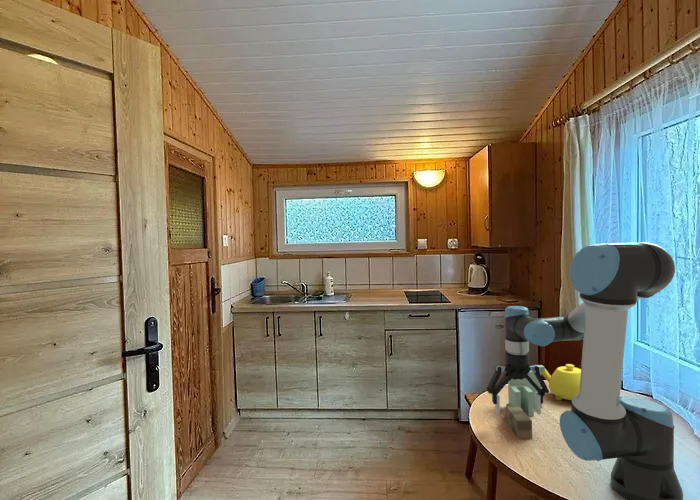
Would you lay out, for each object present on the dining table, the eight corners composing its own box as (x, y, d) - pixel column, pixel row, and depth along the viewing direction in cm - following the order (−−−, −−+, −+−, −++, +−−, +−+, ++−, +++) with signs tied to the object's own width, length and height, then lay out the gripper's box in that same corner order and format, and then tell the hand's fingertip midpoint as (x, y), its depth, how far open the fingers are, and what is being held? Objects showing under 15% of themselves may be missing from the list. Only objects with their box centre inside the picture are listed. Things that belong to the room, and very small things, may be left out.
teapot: (532, 396, 170) (531, 363, 169) (546, 386, 181) (545, 355, 180) (586, 409, 155) (585, 373, 155) (597, 397, 166) (597, 363, 166)
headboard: (553, 415, 151) (552, 372, 151) (515, 416, 152) (514, 373, 151) (542, 405, 160) (542, 365, 160) (507, 406, 161) (506, 365, 161)
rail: (532, 438, 135) (531, 420, 135) (518, 438, 135) (517, 420, 135) (514, 416, 151) (514, 400, 151) (502, 416, 152) (502, 400, 152)
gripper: (549, 348, 143) (550, 407, 144) (477, 349, 145) (477, 408, 146) (559, 354, 136) (559, 417, 137) (482, 355, 137) (483, 417, 138)
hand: (517, 412), depth 141 cm, fingers open, 13 cm apart
